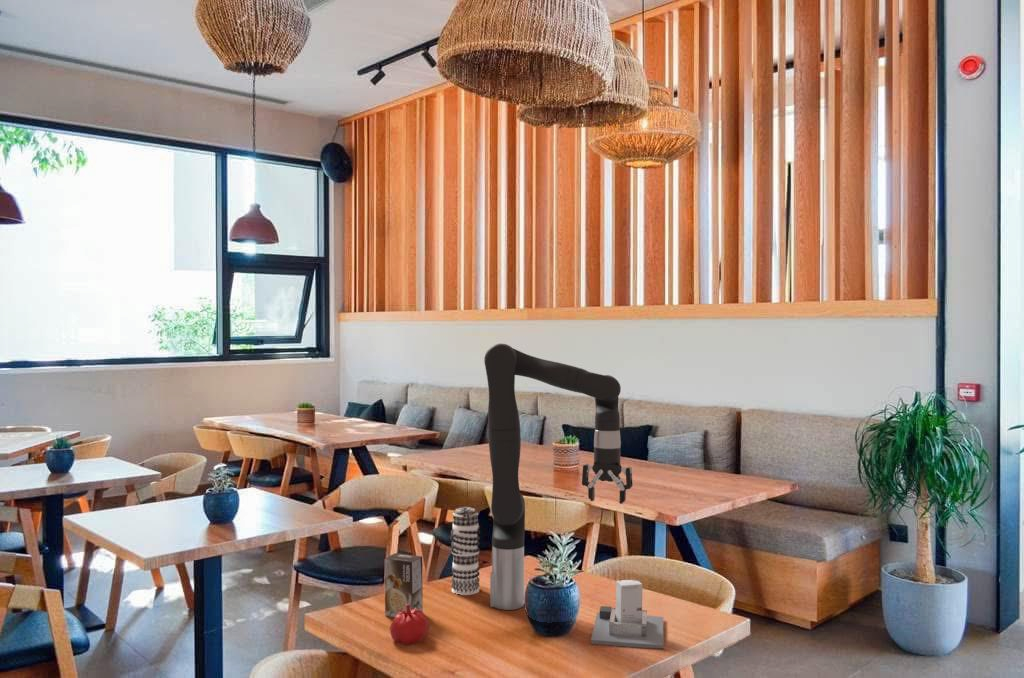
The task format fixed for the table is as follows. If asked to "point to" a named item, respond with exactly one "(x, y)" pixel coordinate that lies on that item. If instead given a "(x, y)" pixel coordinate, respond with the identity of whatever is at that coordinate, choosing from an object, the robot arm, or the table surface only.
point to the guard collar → (627, 626)
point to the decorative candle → (465, 551)
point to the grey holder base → (650, 641)
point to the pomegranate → (409, 626)
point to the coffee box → (403, 583)
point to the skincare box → (629, 601)
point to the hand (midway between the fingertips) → (606, 502)
